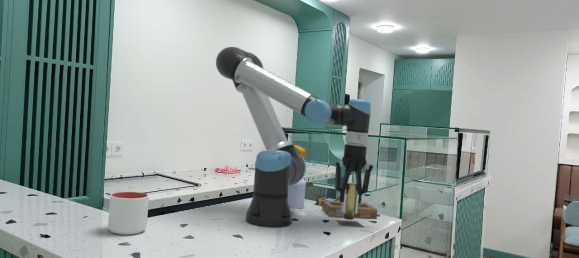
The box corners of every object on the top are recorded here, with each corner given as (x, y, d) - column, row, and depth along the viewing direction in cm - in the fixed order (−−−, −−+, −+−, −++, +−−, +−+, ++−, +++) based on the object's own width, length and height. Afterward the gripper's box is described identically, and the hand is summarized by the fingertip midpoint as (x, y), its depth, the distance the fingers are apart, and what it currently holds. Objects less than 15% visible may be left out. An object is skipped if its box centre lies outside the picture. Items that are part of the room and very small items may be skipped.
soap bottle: (289, 203, 171) (294, 144, 171) (308, 207, 166) (313, 146, 166) (276, 205, 164) (281, 144, 164) (295, 210, 159) (300, 146, 158)
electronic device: (349, 213, 163) (350, 205, 163) (315, 206, 172) (316, 198, 172) (358, 210, 170) (358, 202, 170) (324, 203, 179) (325, 195, 179)
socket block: (376, 220, 152) (377, 209, 152) (329, 218, 150) (330, 207, 149) (366, 212, 164) (366, 202, 164) (322, 210, 162) (322, 200, 162)
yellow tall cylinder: (344, 219, 140) (348, 184, 139) (341, 216, 143) (345, 182, 143) (354, 219, 140) (358, 185, 140) (351, 217, 144) (355, 183, 143)
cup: (108, 237, 107) (111, 199, 107) (106, 227, 116) (109, 191, 116) (148, 235, 112) (151, 198, 112) (143, 225, 121) (146, 191, 121)
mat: (341, 227, 137) (341, 226, 137) (335, 221, 145) (335, 220, 145) (364, 228, 138) (364, 227, 138) (357, 222, 146) (357, 221, 146)
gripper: (335, 143, 136) (327, 213, 137) (382, 147, 139) (375, 216, 139) (329, 141, 144) (323, 208, 144) (375, 145, 146) (368, 211, 147)
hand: (348, 212), depth 142 cm, fingers closed on yellow tall cylinder, 3 cm apart
